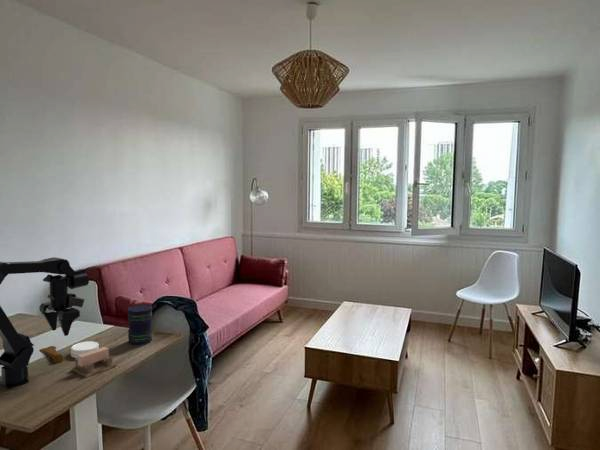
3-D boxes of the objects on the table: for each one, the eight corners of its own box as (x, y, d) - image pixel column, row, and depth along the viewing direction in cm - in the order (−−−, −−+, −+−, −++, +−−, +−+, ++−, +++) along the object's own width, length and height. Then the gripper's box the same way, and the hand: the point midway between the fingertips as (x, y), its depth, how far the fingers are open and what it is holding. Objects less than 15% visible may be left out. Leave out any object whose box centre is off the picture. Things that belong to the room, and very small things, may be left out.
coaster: (79, 361, 157) (79, 352, 156) (65, 355, 162) (65, 346, 162) (104, 352, 165) (103, 344, 165) (90, 347, 170) (90, 339, 170)
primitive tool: (39, 350, 166) (38, 342, 166) (54, 347, 170) (53, 339, 170) (53, 365, 153) (53, 356, 153) (69, 361, 157) (69, 352, 157)
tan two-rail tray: (86, 377, 143) (85, 367, 143) (71, 369, 149) (71, 359, 148) (115, 366, 152) (115, 356, 152) (101, 359, 158) (100, 350, 157)
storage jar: (123, 343, 174) (122, 309, 173) (139, 336, 183) (138, 303, 182) (142, 347, 171) (141, 312, 170) (157, 339, 180) (157, 306, 179)
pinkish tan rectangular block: (82, 366, 145) (81, 357, 145) (77, 364, 147) (77, 355, 146) (108, 357, 153) (108, 348, 153) (104, 355, 155) (104, 346, 155)
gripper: (93, 291, 151) (94, 332, 152) (68, 284, 162) (70, 322, 163) (62, 297, 142) (63, 341, 143) (38, 289, 152) (39, 329, 154)
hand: (60, 332), depth 151 cm, fingers open, 9 cm apart
